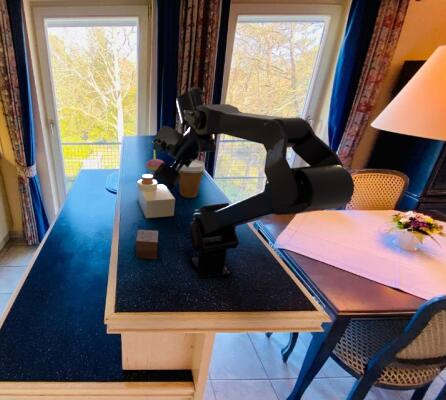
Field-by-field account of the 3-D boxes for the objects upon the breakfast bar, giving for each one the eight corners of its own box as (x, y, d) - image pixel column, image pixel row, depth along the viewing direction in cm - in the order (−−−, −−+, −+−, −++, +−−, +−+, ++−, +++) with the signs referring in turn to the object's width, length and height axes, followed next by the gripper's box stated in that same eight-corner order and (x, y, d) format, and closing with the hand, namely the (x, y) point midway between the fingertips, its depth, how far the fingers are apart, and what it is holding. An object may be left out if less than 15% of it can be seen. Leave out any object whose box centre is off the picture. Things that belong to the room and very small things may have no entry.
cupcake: (142, 173, 119) (142, 147, 113) (158, 170, 122) (159, 145, 117) (151, 179, 112) (152, 152, 106) (168, 176, 115) (170, 149, 110)
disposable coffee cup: (202, 200, 93) (206, 168, 88) (174, 198, 95) (177, 166, 90) (201, 190, 101) (204, 160, 96) (175, 188, 103) (178, 158, 98)
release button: (153, 184, 87) (154, 177, 86) (143, 185, 86) (143, 178, 85) (151, 180, 90) (151, 173, 89) (140, 181, 89) (141, 174, 88)
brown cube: (156, 259, 64) (157, 242, 62) (136, 257, 64) (136, 240, 62) (157, 247, 68) (158, 230, 66) (137, 245, 69) (138, 229, 67)
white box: (173, 215, 83) (175, 192, 80) (143, 218, 82) (144, 195, 78) (162, 198, 95) (163, 177, 92) (135, 200, 94) (135, 179, 90)
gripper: (185, 97, 65) (165, 130, 80) (143, 149, 59) (130, 174, 74) (222, 124, 65) (195, 152, 80) (183, 179, 59) (162, 198, 74)
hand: (170, 168), depth 77 cm, fingers open, 9 cm apart
